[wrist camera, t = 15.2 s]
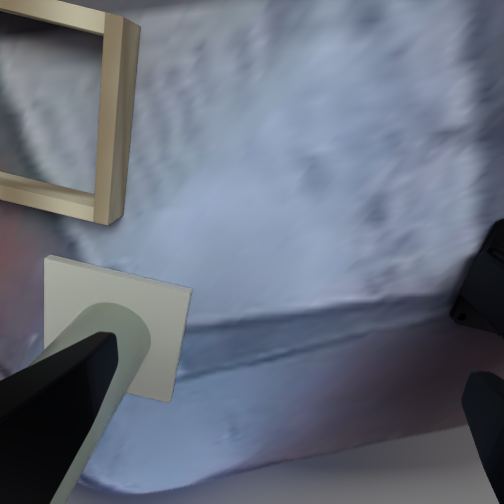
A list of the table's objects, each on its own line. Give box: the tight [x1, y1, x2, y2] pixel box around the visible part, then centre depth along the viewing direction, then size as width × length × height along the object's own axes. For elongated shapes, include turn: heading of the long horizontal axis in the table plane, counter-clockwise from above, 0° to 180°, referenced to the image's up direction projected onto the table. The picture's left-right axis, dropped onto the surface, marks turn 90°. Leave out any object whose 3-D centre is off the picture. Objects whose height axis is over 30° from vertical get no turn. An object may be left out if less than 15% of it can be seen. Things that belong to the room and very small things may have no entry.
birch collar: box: [0, 0, 141, 225], centre depth 18 cm, size 10×10×2 cm
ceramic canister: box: [28, 302, 151, 504], centre depth 17 cm, size 5×5×14 cm
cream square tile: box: [44, 255, 192, 403], centre depth 24 cm, size 9×9×1 cm
